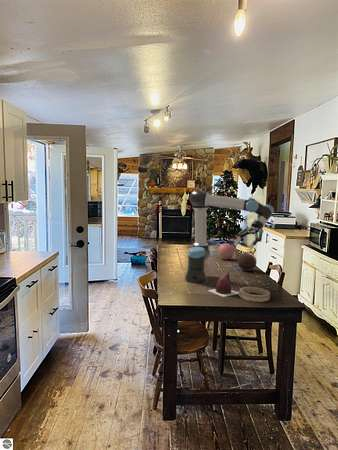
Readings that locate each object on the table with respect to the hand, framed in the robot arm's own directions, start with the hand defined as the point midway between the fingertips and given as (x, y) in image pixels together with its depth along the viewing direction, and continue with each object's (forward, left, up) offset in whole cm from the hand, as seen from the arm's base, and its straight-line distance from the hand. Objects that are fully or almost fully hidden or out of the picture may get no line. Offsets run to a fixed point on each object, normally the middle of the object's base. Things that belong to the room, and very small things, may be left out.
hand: (242, 246), depth 226 cm
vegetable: (+3, -18, -28) cm, 33 cm away
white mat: (+3, -18, -28) cm, 34 cm away
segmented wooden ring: (+19, -7, -28) cm, 34 cm away
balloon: (-69, +60, -28) cm, 96 cm away
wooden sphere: (-31, +42, -28) cm, 59 cm away
